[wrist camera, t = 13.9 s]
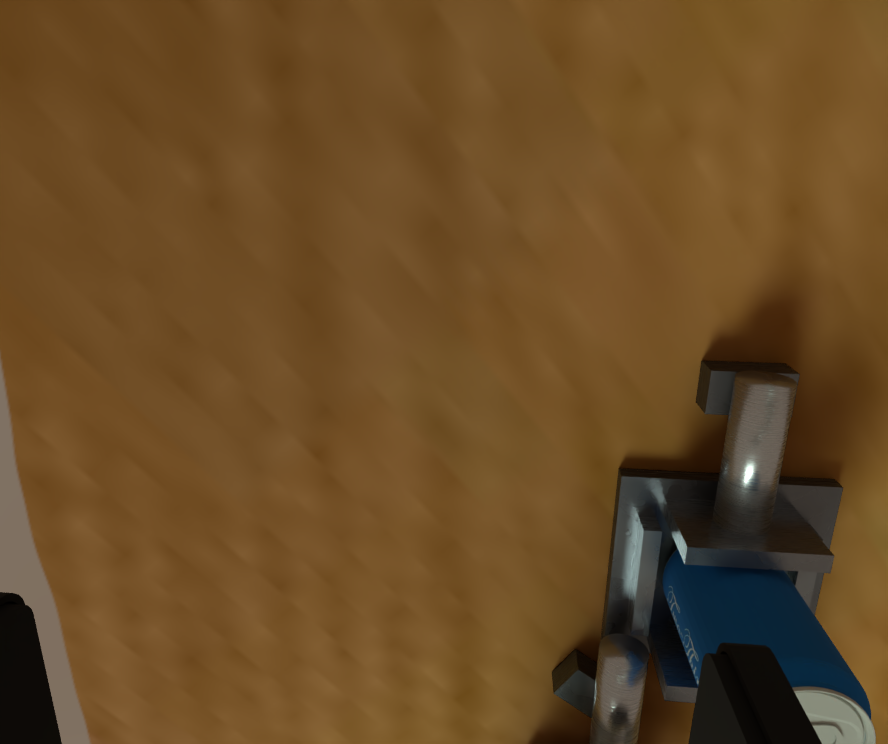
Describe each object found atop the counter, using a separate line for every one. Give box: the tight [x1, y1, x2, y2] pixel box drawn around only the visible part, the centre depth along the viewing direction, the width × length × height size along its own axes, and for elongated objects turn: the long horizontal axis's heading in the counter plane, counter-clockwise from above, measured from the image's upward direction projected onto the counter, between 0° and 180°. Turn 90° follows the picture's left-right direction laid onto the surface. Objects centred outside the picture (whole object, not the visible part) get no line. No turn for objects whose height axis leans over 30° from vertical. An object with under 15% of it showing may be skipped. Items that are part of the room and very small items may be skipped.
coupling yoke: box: [552, 361, 843, 744], centre depth 37 cm, size 24×15×6 cm, turn 179°
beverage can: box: [663, 549, 876, 744], centre depth 33 cm, size 6×6×12 cm
